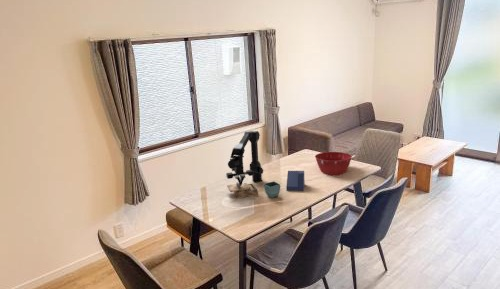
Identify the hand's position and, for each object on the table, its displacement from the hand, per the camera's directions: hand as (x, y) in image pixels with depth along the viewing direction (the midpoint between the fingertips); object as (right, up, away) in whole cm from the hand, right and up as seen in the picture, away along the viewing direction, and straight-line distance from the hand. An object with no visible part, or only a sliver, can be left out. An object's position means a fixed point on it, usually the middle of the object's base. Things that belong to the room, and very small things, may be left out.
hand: (240, 185), depth 260 cm
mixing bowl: (+74, +5, +32) cm, 81 cm away
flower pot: (+22, -7, -6) cm, 24 cm away
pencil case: (+3, -6, +2) cm, 7 cm away
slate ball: (+8, -5, 0) cm, 10 cm away
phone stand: (+40, -3, +5) cm, 41 cm away
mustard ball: (+7, -4, +6) cm, 10 cm away
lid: (-1, -2, 0) cm, 2 cm away
